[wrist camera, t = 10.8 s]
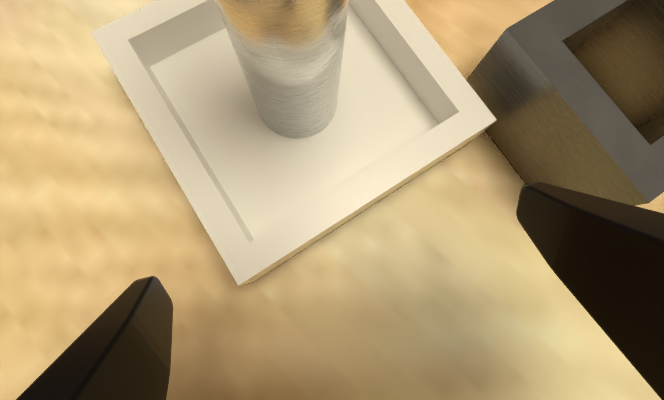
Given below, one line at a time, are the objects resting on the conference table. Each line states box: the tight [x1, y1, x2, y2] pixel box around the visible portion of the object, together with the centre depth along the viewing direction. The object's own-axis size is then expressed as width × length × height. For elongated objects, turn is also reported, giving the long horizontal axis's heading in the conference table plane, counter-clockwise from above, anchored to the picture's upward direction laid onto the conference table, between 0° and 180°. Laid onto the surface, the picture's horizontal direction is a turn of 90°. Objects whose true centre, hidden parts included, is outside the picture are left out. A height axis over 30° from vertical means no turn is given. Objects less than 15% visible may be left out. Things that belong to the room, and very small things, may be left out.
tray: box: [91, 0, 497, 286], centre depth 16 cm, size 13×13×3 cm
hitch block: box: [466, 0, 664, 206], centre depth 16 cm, size 8×8×5 cm
